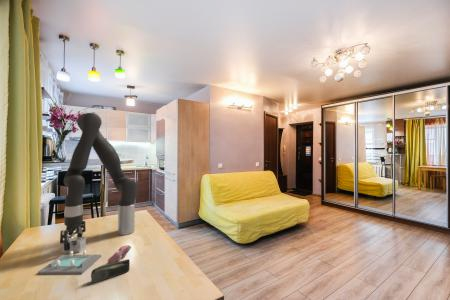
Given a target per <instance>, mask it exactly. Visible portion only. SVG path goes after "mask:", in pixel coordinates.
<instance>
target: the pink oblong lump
mask: <svg viewBox="0 0 450 300" xmlns="http://www.w3.org/2000/svg"><path fill="white" fill-rule="evenodd" d="M131 249H132V246H131V245H129V244H125V245H122V246H120V247H119V249H117V250H116V251H115V252H114V254H113V255H112V256H110V257H109V258H108V259H107V264H111V263H115V262H119V261H121V259H122V258H125V257H126V256H127V254H128V253H129V252H130V250H131Z"/></svg>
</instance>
